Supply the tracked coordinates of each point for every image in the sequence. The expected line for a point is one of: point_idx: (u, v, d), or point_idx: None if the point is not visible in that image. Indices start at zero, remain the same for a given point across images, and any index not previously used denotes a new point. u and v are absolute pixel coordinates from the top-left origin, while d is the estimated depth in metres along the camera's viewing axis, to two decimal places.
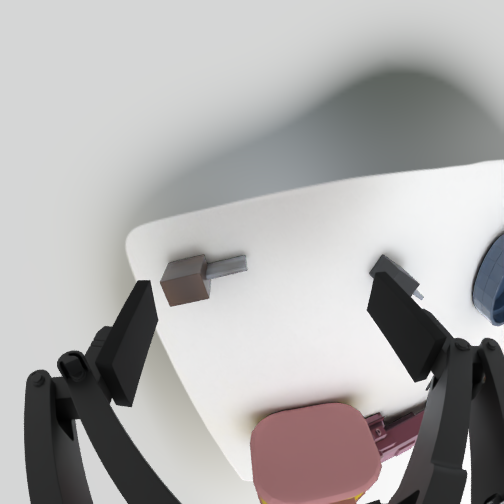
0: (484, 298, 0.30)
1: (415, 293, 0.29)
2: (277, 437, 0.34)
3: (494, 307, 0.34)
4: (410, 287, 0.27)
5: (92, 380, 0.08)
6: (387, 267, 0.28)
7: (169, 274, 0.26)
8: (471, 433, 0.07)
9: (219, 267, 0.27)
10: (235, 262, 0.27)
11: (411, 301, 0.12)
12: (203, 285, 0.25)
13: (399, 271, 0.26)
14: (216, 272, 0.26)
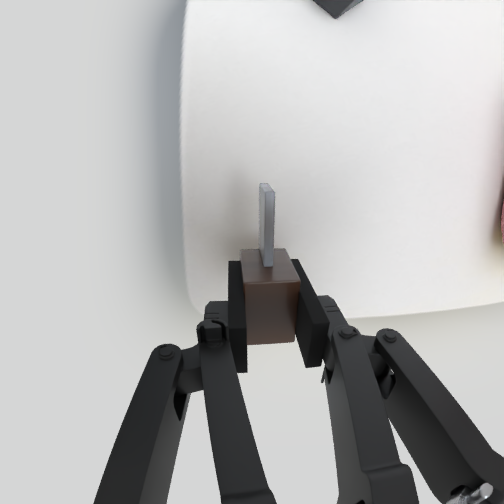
0: None
1: None
2: None
3: None
4: None
5: (227, 350, 0.10)
6: None
7: None
8: (400, 430, 0.08)
9: (261, 236, 0.15)
10: (261, 205, 0.15)
11: (307, 286, 0.14)
12: (270, 283, 0.13)
13: None
14: (263, 247, 0.14)
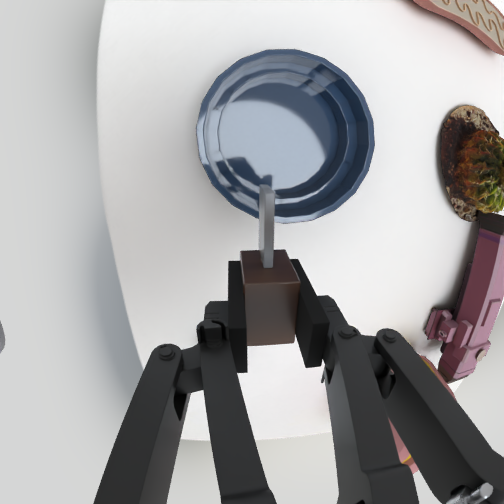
0: None
1: None
2: None
3: (342, 150, 0.25)
4: None
5: (227, 350, 0.10)
6: None
7: None
8: (400, 430, 0.08)
9: (261, 237, 0.15)
10: (261, 207, 0.15)
11: (308, 286, 0.14)
12: (270, 284, 0.13)
13: None
14: (263, 248, 0.14)
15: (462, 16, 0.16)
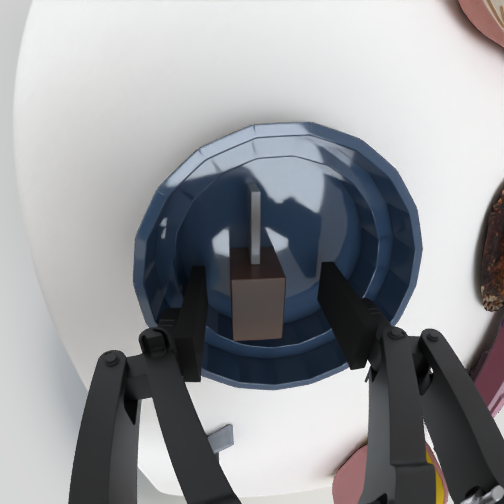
0: None
1: (220, 449, 0.24)
2: (338, 496, 0.31)
3: (365, 275, 0.17)
4: None
5: (172, 358, 0.09)
6: None
7: None
8: (430, 428, 0.08)
9: (249, 234, 0.16)
10: (248, 205, 0.15)
11: (349, 289, 0.14)
12: (256, 280, 0.14)
13: None
14: (250, 245, 0.15)
15: None
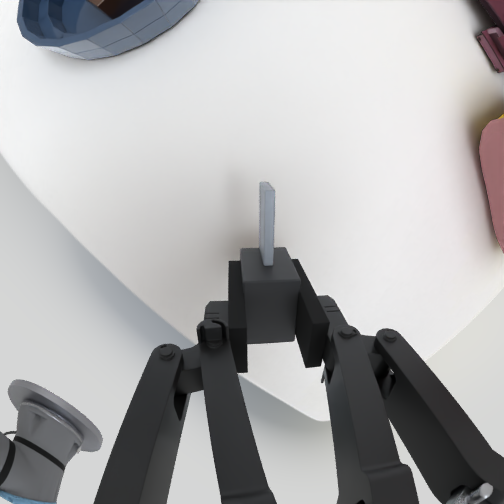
0: (176, 1, 0.12)
1: (268, 228, 0.14)
2: None
3: None
4: (262, 299, 0.14)
5: (228, 350, 0.10)
6: None
7: (98, 8, 0.11)
8: (400, 430, 0.08)
9: None
10: None
11: (307, 286, 0.14)
12: None
13: (247, 343, 0.15)
14: None
15: None
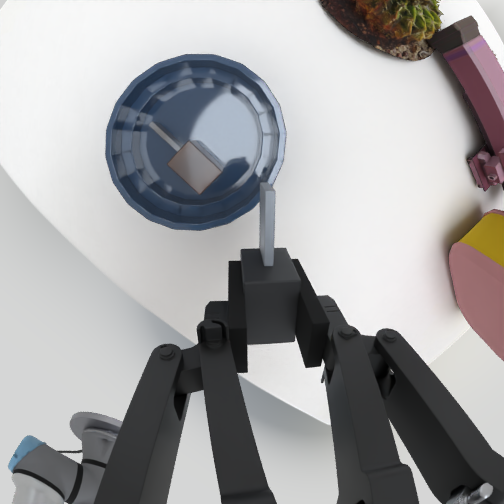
0: None
1: (269, 228, 0.14)
2: (472, 320, 0.32)
3: (251, 107, 0.23)
4: (262, 300, 0.14)
5: (227, 350, 0.10)
6: None
7: None
8: (400, 430, 0.08)
9: None
10: None
11: (307, 286, 0.14)
12: (177, 153, 0.22)
13: (247, 343, 0.15)
14: (170, 145, 0.23)
15: None
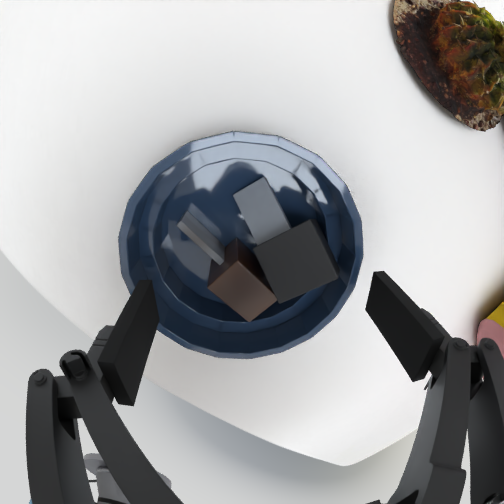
0: None
1: (277, 201, 0.18)
2: None
3: (315, 202, 0.19)
4: (319, 233, 0.17)
5: (94, 379, 0.08)
6: None
7: None
8: (470, 432, 0.07)
9: None
10: None
11: (409, 301, 0.12)
12: (221, 276, 0.17)
13: (337, 277, 0.17)
14: (208, 254, 0.19)
15: None
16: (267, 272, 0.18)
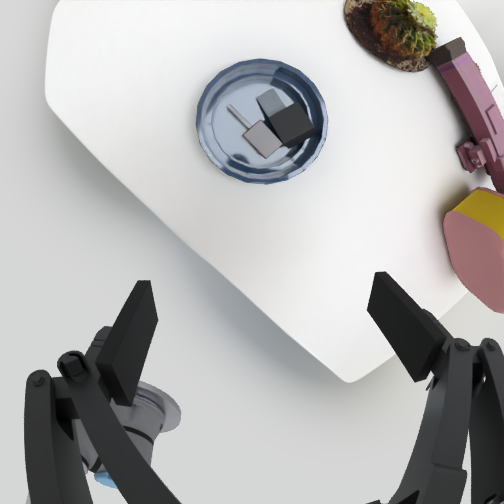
0: None
1: None
2: (465, 279, 0.40)
3: (301, 100, 0.31)
4: None
5: (92, 380, 0.08)
6: (300, 136, 0.30)
7: None
8: (471, 433, 0.07)
9: (241, 121, 0.32)
10: (232, 113, 0.32)
11: (411, 301, 0.12)
12: (251, 128, 0.30)
13: (314, 127, 0.29)
14: (243, 122, 0.31)
15: None
16: (276, 128, 0.30)
